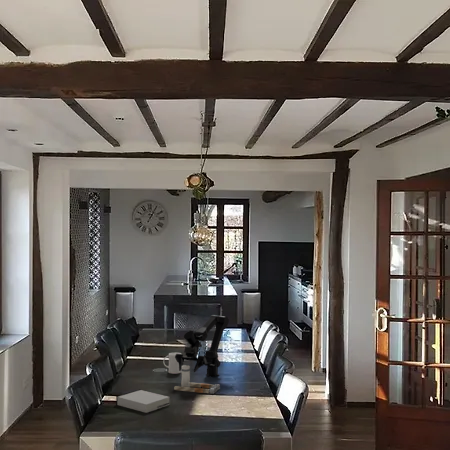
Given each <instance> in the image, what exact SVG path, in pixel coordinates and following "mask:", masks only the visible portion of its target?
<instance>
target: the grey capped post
mask: <svg viewBox="0 0 450 450" xmlns="http://www.w3.org/2000/svg"><path fill="white" fill-rule="evenodd" d="M181 371H182V372H181V382H182V386H181V387H191V386H190V383H191V382H190V381H191V380H190V379H191V366H190V365H189V364H187V365H186V364H183V366H182V369H181Z"/></svg>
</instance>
